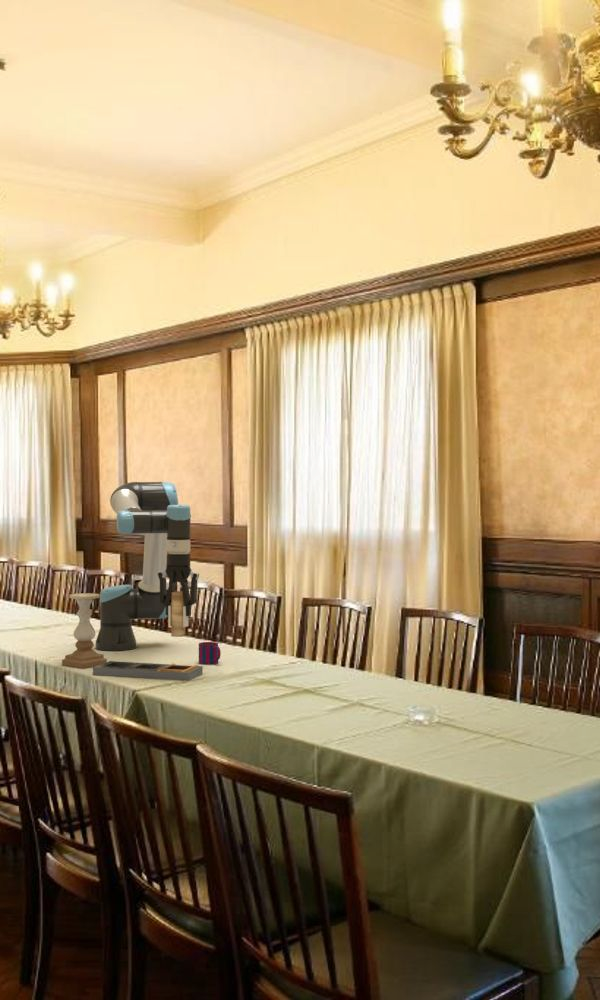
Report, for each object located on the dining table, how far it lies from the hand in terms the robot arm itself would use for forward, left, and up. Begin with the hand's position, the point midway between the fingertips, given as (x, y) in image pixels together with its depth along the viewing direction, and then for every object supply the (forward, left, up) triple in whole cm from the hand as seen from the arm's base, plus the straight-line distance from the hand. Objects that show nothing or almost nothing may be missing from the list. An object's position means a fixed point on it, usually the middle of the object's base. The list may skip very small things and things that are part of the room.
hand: (178, 625), depth 322 cm
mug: (-25, +1, -16) cm, 30 cm away
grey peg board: (0, -11, -16) cm, 19 cm away
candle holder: (-10, -39, -16) cm, 43 cm away
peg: (0, 0, -3) cm, 3 cm away
